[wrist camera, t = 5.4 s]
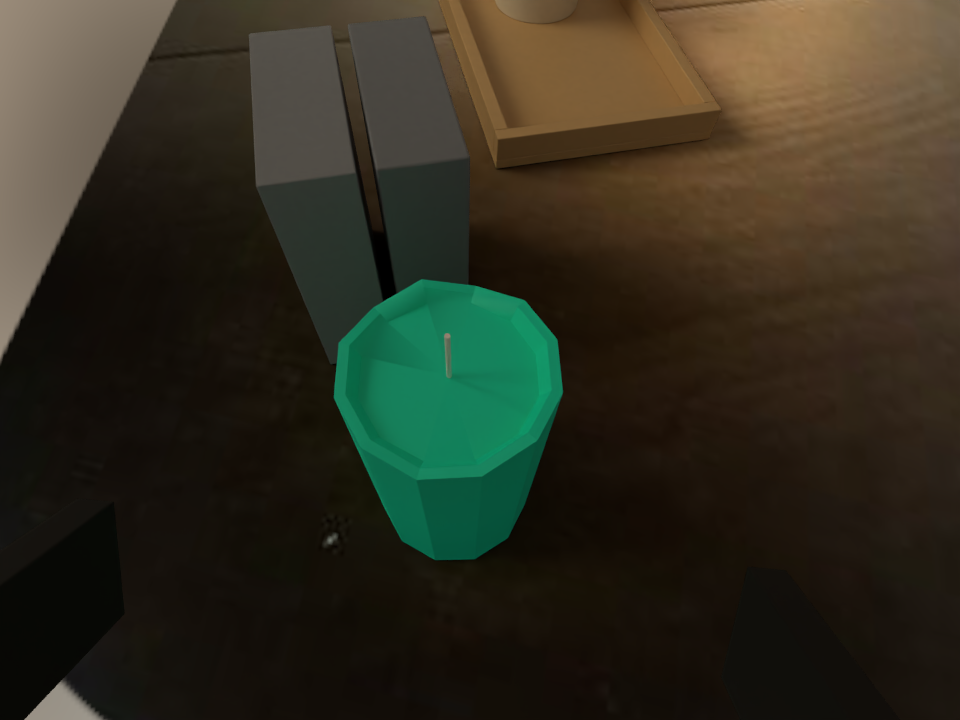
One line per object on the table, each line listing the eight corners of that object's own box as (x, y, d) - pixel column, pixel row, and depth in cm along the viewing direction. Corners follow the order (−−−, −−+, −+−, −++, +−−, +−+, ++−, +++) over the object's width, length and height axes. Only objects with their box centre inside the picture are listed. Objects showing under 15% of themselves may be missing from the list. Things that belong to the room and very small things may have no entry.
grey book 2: (383, 227, 31) (347, 22, 21) (437, 219, 31) (425, 15, 22) (406, 351, 27) (375, 170, 17) (468, 340, 27) (470, 156, 18)
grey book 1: (316, 237, 30) (248, 32, 21) (372, 228, 31) (331, 24, 21) (330, 365, 26) (255, 186, 17) (394, 353, 27) (356, 172, 17)
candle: (555, 485, 24) (625, 333, 13) (455, 596, 22) (447, 517, 11) (453, 396, 26) (447, 204, 15) (353, 489, 24) (264, 338, 13)
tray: (416, -63, 46) (414, -93, 45) (574, -76, 48) (578, -106, 46) (495, 169, 33) (497, 139, 31) (708, 139, 35) (722, 109, 33)
